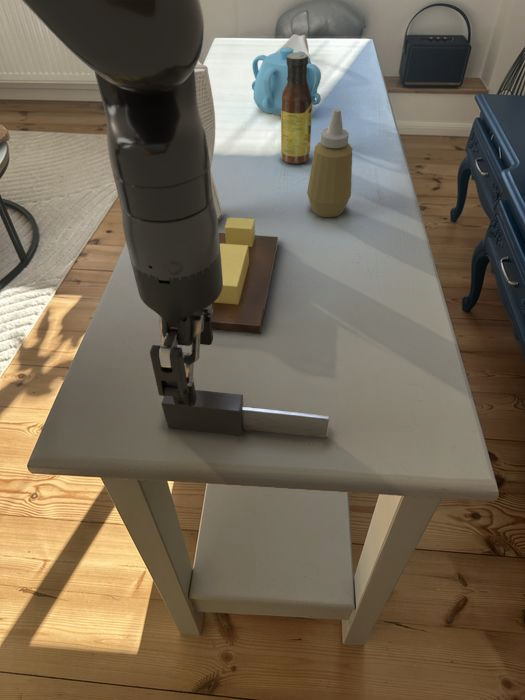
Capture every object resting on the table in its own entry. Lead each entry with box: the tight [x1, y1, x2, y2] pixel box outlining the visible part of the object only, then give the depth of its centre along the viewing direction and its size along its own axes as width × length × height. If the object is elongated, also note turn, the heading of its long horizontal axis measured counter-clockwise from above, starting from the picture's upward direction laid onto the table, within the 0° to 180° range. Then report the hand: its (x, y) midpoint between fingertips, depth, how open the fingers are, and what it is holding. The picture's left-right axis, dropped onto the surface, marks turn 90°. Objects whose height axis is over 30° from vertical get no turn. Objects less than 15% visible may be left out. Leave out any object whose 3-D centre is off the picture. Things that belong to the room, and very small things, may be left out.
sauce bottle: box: [280, 53, 313, 165], centre depth 98 cm, size 7×6×20 cm
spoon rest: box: [276, 33, 311, 59], centre depth 142 cm, size 24×12×7 cm, turn 166°
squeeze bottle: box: [306, 108, 353, 218], centre depth 84 cm, size 8×8×18 cm
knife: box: [160, 389, 330, 439], centre depth 56 cm, size 19×2×5 cm, turn 82°
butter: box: [214, 244, 249, 305], centre depth 73 cm, size 4×10×4 cm, turn 172°
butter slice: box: [224, 217, 256, 247], centre depth 80 cm, size 4×3×4 cm, turn 82°
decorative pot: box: [251, 47, 322, 116], centre depth 119 cm, size 16×16×14 cm
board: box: [211, 232, 279, 334], centre depth 76 cm, size 12×22×2 cm, turn 172°
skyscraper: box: [194, 53, 224, 222], centre depth 79 cm, size 8×8×28 cm
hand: (194, 371), depth 52 cm, fingers open, 8 cm apart
